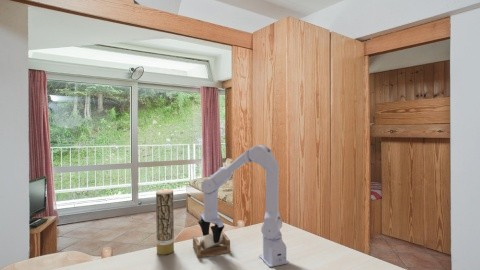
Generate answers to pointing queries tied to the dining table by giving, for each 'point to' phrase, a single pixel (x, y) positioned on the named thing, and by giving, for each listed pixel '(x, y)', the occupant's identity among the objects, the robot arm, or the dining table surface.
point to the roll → (209, 241)
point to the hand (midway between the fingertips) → (211, 239)
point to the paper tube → (164, 221)
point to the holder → (213, 250)
